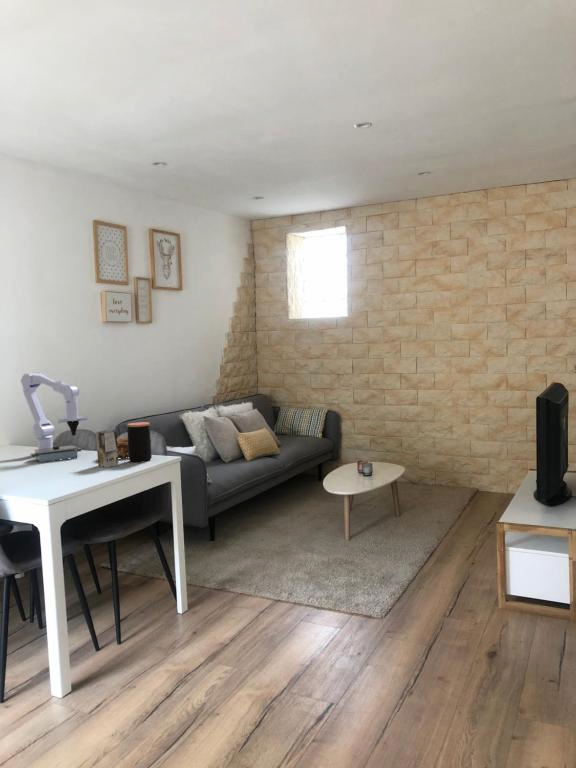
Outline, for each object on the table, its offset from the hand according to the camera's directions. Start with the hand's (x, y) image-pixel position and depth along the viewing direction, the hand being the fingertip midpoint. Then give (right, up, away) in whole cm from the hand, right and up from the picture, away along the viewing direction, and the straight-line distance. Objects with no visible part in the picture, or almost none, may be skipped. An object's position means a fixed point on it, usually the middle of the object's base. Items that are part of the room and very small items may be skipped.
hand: (73, 435), depth 330 cm
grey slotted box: (-6, -11, -8) cm, 15 cm away
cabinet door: (-6, -7, -8) cm, 12 cm away
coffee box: (+28, -12, -34) cm, 46 cm away
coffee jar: (+41, -10, -25) cm, 49 cm away
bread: (+29, -10, -12) cm, 33 cm away
